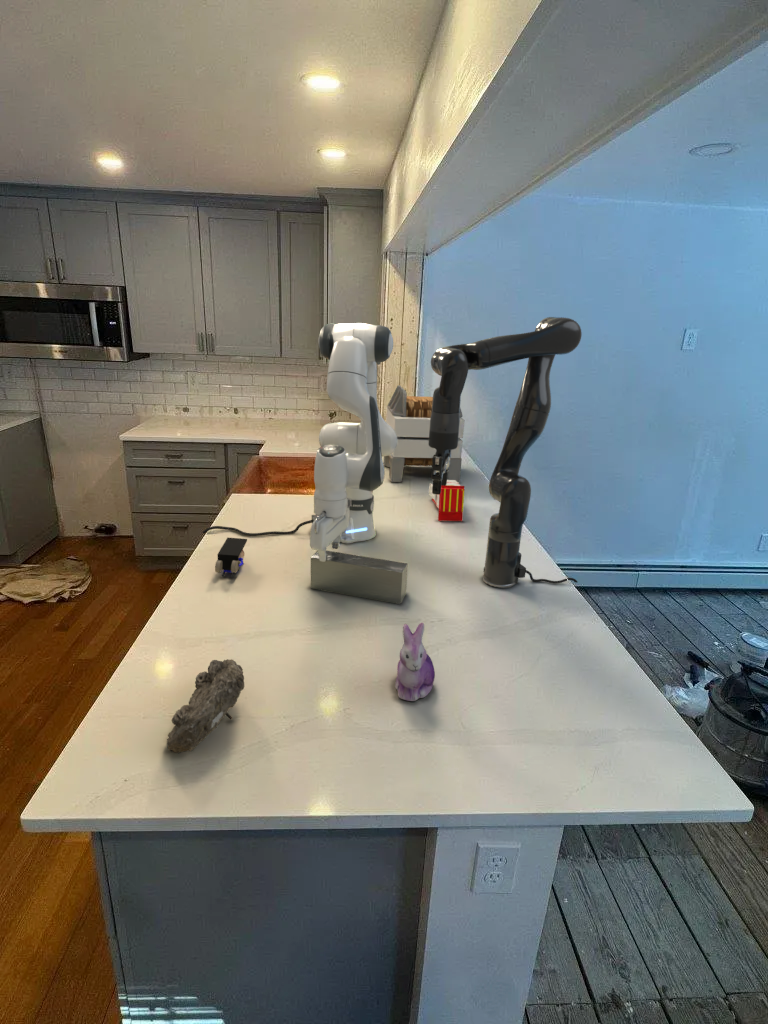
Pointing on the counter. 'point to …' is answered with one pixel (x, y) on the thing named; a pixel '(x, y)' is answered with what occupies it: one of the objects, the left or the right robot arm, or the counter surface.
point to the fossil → (206, 705)
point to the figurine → (414, 666)
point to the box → (360, 576)
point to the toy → (449, 501)
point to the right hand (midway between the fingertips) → (439, 489)
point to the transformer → (415, 435)
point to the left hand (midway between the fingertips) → (329, 554)
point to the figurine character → (230, 556)
